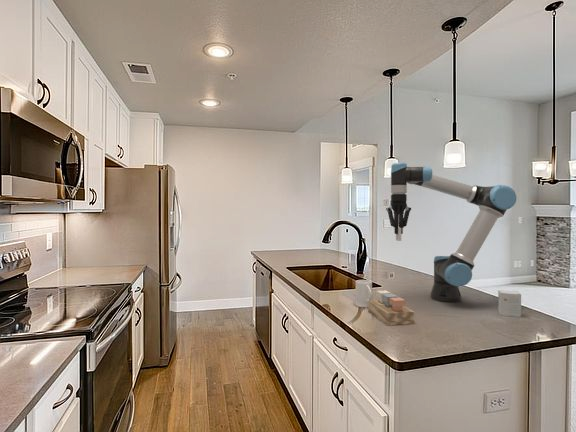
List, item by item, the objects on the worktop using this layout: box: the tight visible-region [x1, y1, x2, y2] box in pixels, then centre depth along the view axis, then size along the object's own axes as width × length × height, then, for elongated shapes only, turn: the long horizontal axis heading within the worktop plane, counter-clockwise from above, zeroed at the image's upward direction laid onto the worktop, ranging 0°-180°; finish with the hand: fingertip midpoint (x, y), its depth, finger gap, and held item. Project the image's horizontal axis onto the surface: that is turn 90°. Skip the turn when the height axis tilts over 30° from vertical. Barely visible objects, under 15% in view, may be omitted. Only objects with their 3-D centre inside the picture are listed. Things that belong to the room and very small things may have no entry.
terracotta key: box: [389, 296, 406, 312], centre depth 151 cm, size 5×5×7 cm
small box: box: [497, 289, 522, 318], centre depth 161 cm, size 8×6×10 cm
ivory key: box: [376, 290, 392, 304], centre depth 164 cm, size 5×5×7 cm
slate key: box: [383, 293, 399, 308], centre depth 158 cm, size 5×5×7 cm
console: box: [367, 299, 415, 326], centre depth 158 cm, size 12×20×5 cm, turn 10°
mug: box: [354, 279, 373, 308], centre depth 176 cm, size 12×8×12 cm
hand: (398, 240), depth 178 cm, fingers closed
